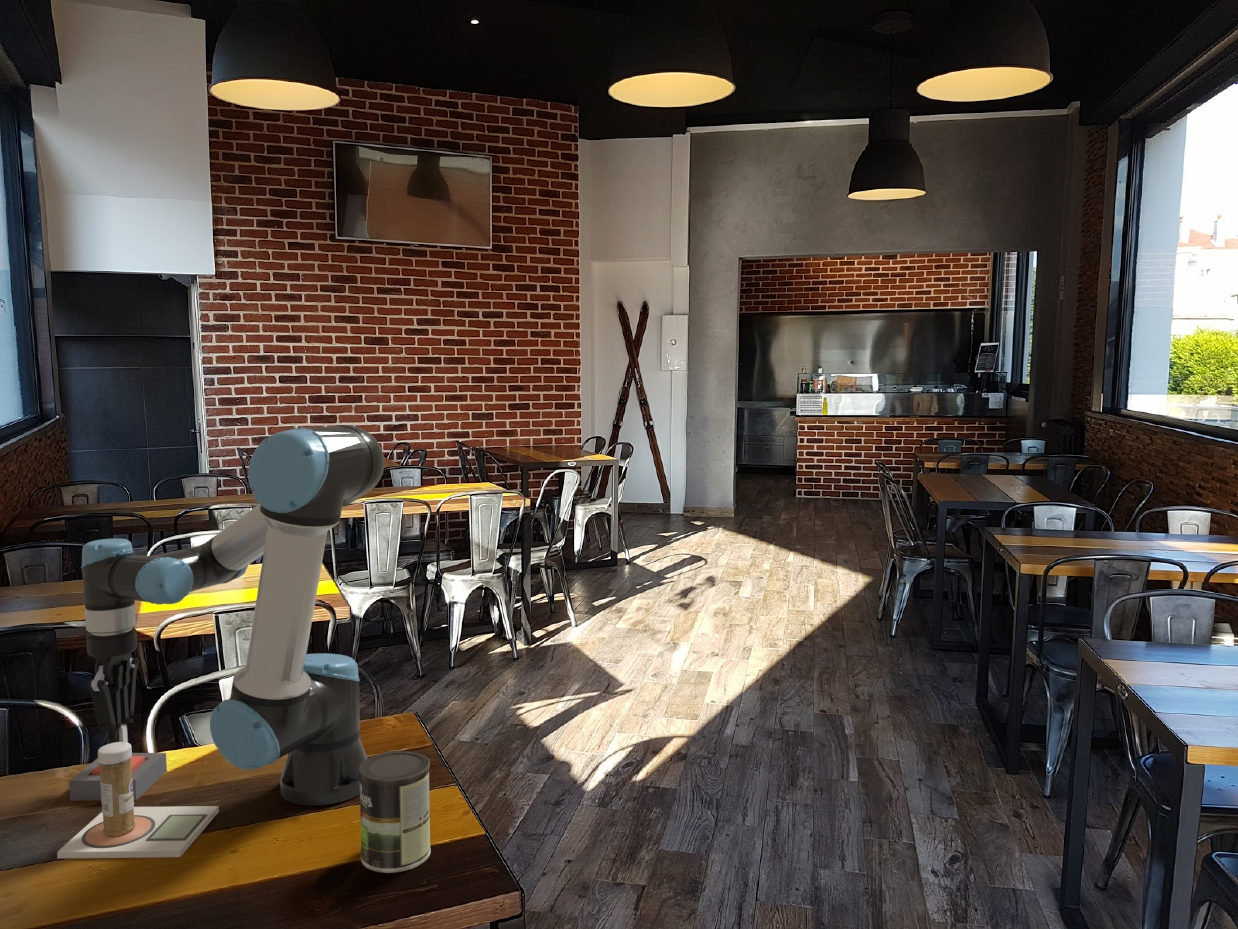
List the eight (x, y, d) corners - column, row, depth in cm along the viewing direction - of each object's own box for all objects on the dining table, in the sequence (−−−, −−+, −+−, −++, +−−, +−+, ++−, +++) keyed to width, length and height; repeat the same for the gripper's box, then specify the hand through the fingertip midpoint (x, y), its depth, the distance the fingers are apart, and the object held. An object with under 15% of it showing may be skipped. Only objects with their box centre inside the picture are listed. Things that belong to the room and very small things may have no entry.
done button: (145, 772, 163) (144, 756, 163) (128, 787, 157) (127, 770, 157) (111, 772, 163) (110, 756, 163) (93, 788, 157) (92, 771, 157)
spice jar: (137, 832, 142) (132, 748, 140) (103, 840, 139) (98, 755, 138) (134, 820, 146) (129, 738, 144) (101, 828, 143) (96, 744, 142)
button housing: (166, 771, 166) (165, 752, 165) (136, 800, 155) (135, 780, 154) (105, 772, 165) (103, 753, 165) (70, 800, 154) (69, 780, 154)
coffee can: (365, 880, 131) (362, 785, 129) (357, 845, 140) (354, 756, 139) (437, 865, 135) (435, 773, 133) (425, 832, 144) (423, 746, 143)
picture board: (218, 812, 151) (218, 805, 151) (180, 857, 137) (179, 850, 137) (107, 813, 150) (107, 806, 150) (57, 858, 136) (57, 851, 136)
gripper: (109, 619, 164) (116, 747, 166) (67, 641, 151) (75, 779, 153) (151, 619, 164) (158, 746, 166) (113, 641, 151) (121, 778, 153)
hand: (118, 762), depth 160 cm, fingers closed
